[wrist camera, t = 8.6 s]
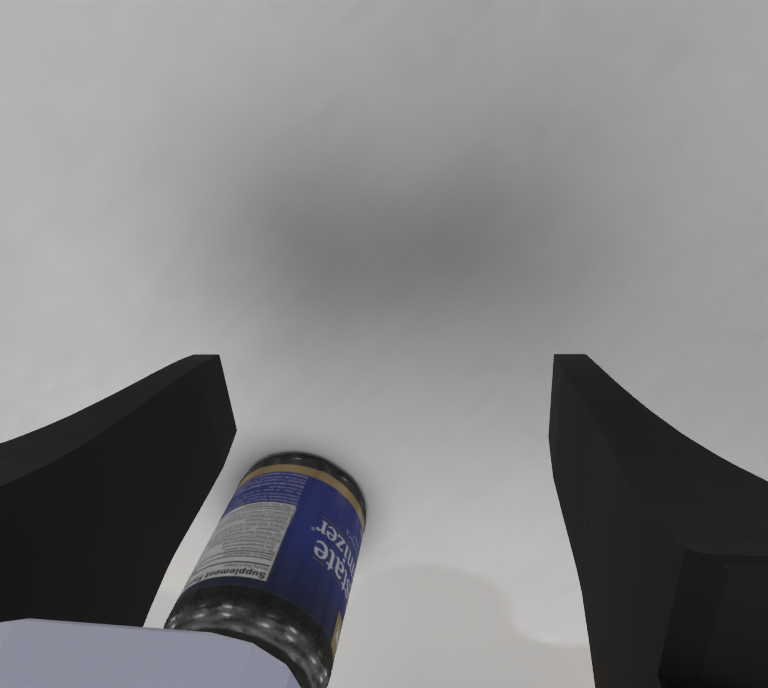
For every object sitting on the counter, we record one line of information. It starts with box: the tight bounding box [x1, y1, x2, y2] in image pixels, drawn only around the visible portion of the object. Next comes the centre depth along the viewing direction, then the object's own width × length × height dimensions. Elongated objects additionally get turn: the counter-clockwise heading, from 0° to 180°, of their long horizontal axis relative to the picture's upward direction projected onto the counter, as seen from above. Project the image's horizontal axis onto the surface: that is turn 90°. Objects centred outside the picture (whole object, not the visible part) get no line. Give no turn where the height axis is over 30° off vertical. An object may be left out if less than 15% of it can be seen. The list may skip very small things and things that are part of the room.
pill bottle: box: [163, 455, 366, 688], centre depth 22 cm, size 6×6×11 cm
